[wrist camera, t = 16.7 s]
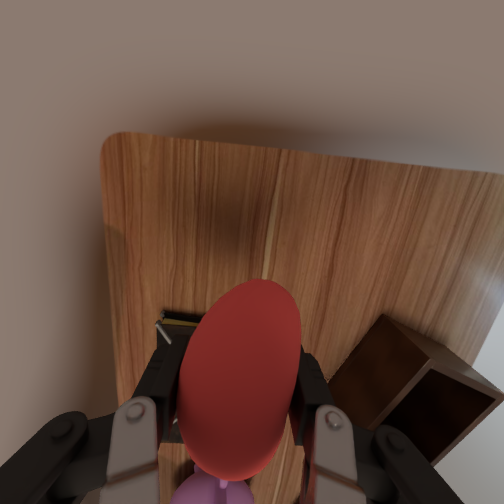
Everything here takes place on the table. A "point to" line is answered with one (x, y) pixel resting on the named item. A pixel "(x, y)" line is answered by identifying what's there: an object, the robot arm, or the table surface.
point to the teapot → (211, 490)
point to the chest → (412, 389)
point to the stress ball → (239, 380)
